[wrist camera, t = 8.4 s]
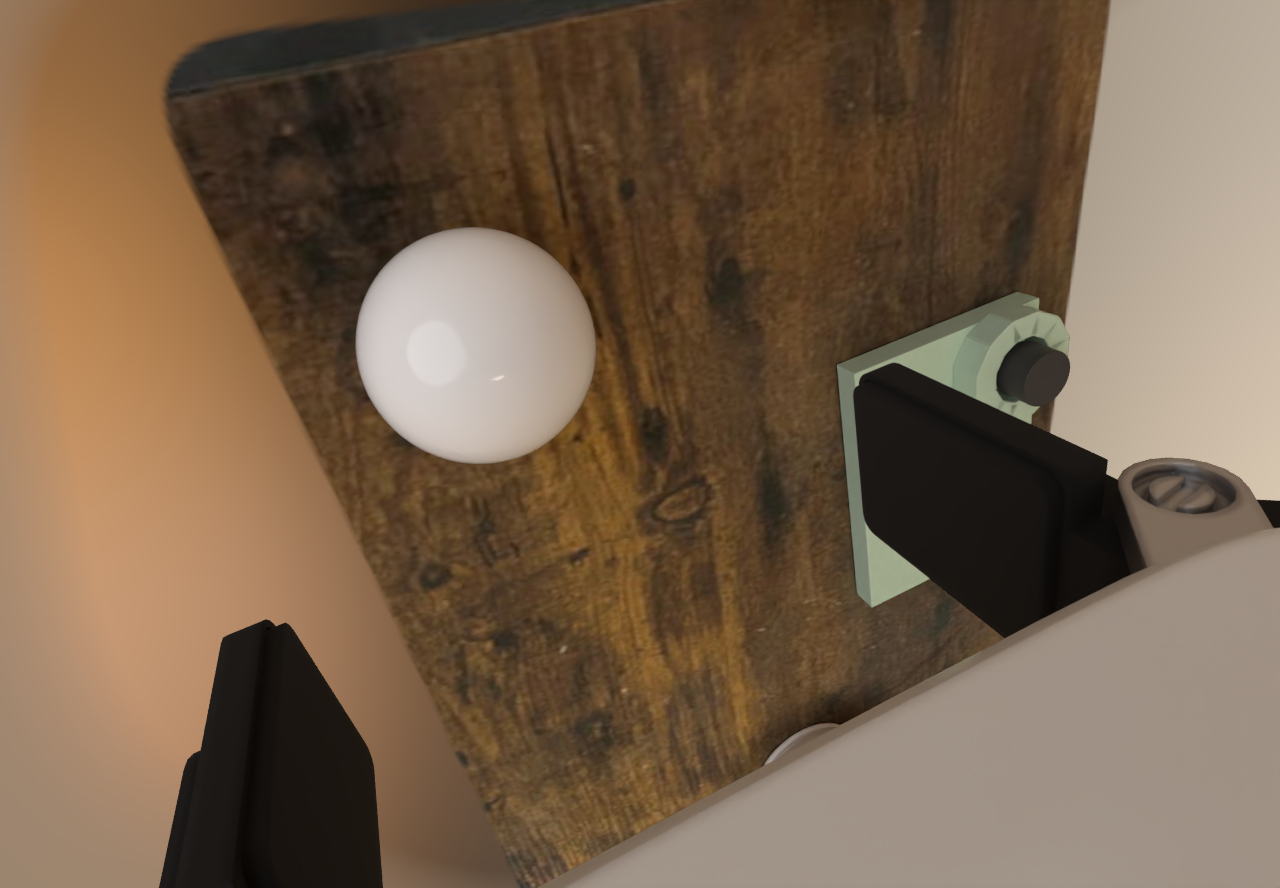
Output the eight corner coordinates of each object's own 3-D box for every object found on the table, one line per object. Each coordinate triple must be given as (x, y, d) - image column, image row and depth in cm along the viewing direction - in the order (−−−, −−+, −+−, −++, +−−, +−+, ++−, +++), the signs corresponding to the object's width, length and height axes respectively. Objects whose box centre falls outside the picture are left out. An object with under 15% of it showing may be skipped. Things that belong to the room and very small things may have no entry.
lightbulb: (559, 272, 28) (677, 362, 19) (454, 397, 28) (520, 545, 19) (422, 151, 24) (485, 189, 15) (306, 296, 25) (300, 417, 16)
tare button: (995, 351, 35) (1025, 363, 33) (1041, 332, 35) (1072, 342, 34) (994, 402, 36) (1022, 415, 35) (1038, 382, 37) (1067, 395, 35)
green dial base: (835, 358, 35) (875, 378, 32) (1023, 282, 37) (1073, 296, 35) (856, 593, 42) (890, 625, 40) (1010, 518, 45) (1051, 543, 42)
